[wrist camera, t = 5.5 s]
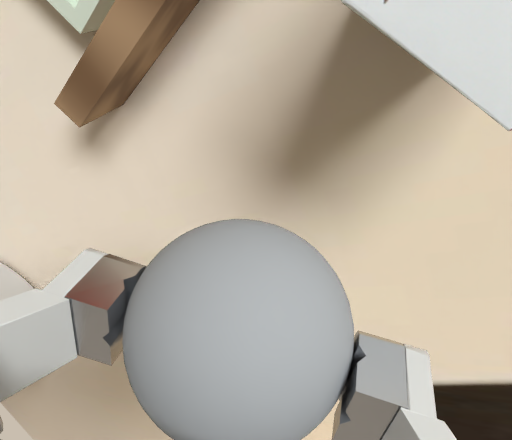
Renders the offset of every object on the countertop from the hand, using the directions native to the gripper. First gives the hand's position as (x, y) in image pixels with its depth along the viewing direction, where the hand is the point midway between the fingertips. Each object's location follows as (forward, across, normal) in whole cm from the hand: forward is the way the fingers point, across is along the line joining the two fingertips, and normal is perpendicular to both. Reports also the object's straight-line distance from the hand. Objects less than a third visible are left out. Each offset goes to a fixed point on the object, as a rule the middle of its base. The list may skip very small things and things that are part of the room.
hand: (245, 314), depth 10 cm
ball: (0, 0, 0) cm, 0 cm away
